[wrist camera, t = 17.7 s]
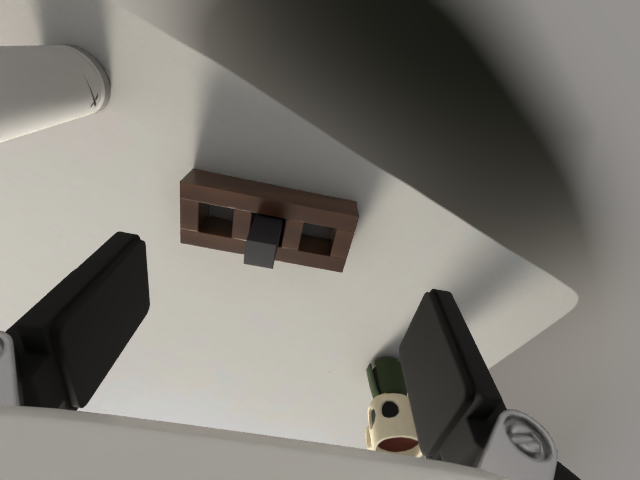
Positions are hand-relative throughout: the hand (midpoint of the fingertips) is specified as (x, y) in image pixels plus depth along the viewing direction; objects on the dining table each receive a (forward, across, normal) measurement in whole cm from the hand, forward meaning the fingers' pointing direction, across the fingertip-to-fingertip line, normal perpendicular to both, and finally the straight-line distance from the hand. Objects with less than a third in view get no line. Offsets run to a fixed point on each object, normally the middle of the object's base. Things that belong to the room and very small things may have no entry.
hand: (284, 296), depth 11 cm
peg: (+28, +3, +12) cm, 31 cm away
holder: (+28, +3, +12) cm, 31 cm away
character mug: (+28, -19, +36) cm, 50 cm away
